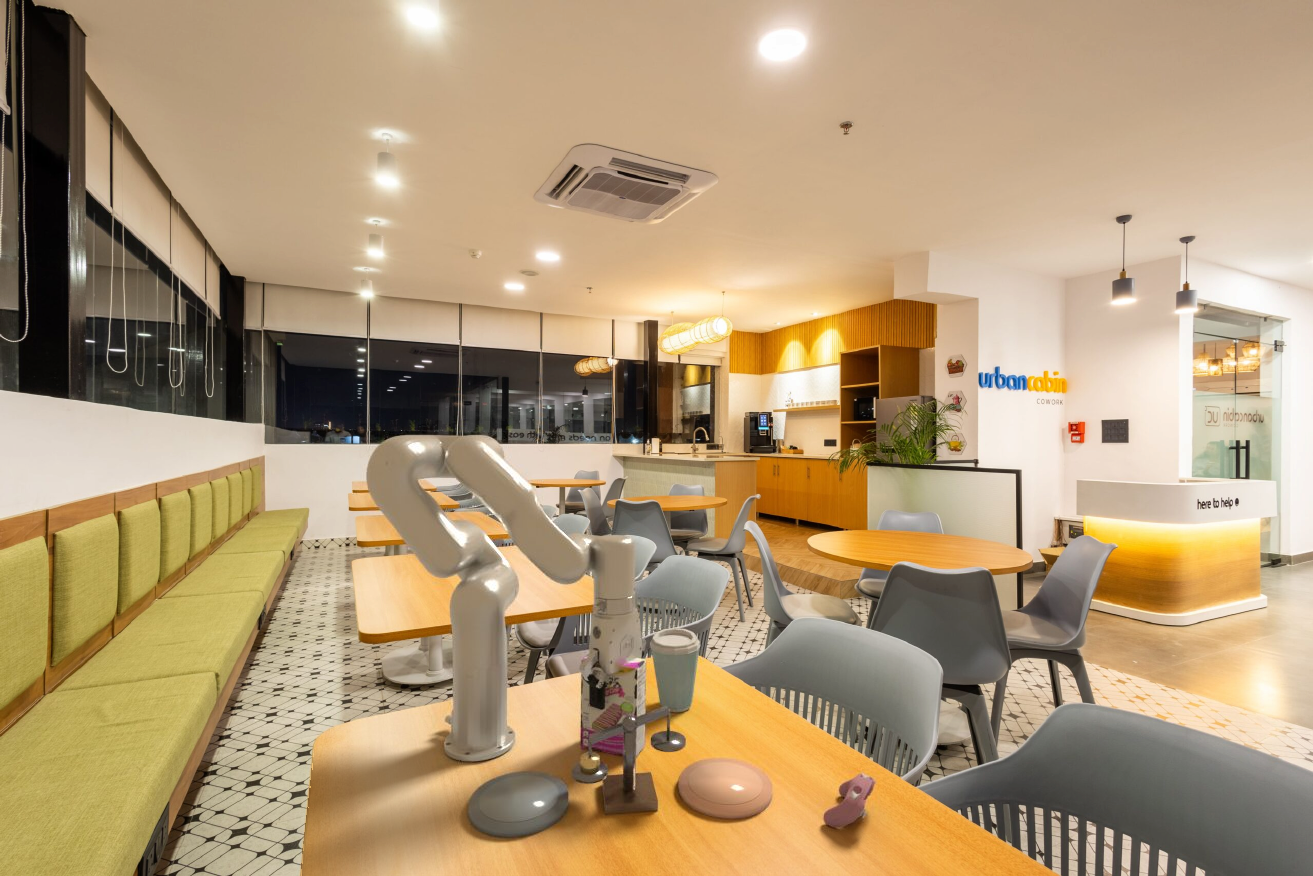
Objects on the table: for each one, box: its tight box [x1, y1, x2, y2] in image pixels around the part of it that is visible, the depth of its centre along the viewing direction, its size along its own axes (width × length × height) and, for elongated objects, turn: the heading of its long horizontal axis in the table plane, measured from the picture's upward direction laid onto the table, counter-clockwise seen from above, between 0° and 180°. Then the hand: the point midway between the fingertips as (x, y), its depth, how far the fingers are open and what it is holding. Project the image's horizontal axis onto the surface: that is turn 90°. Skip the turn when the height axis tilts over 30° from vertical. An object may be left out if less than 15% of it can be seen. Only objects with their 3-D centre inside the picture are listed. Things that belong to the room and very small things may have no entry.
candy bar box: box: [579, 653, 647, 758], centre depth 113 cm, size 11×5×16 cm, turn 71°
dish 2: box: [678, 757, 773, 820], centre depth 100 cm, size 15×15×1 cm
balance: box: [571, 705, 687, 816], centre depth 98 cm, size 18×8×14 cm, turn 98°
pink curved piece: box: [823, 771, 877, 828], centre depth 93 cm, size 10×5×7 cm, turn 148°
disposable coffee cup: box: [649, 627, 701, 713], centre depth 130 cm, size 11×11×15 cm
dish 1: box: [467, 770, 570, 839], centre depth 95 cm, size 15×15×1 cm
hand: (615, 697), depth 113 cm, fingers open, 9 cm apart
